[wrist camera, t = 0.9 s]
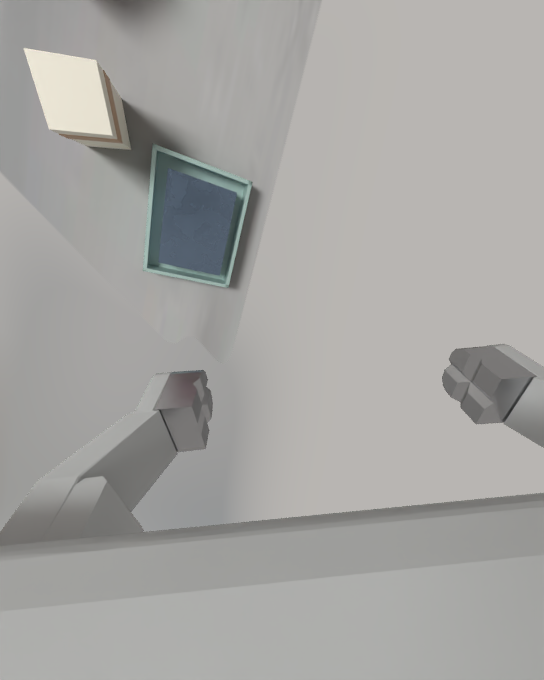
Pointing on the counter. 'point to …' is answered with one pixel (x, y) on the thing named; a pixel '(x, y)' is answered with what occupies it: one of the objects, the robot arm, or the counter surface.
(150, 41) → the counter surface
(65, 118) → the carton
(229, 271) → the green tray
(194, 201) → the block
